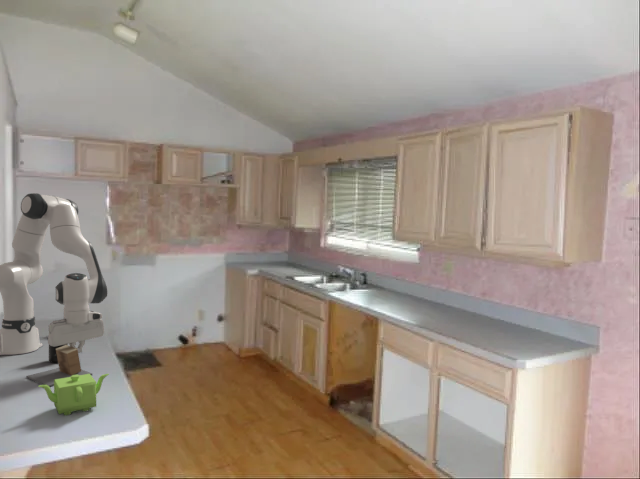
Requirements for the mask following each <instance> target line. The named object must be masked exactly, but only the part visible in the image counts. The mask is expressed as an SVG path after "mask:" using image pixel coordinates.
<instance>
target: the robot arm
mask: <svg viewBox="0 0 640 479" xmlns="http://www.w3.org/2000/svg"><path fill="white" fill-rule="evenodd" d="M20 212H21V213H22V215H21V216H20V219H19V220H18V223H17V227H16V229H15V232H14V236H13V240H12V243H11V246H12V248H13V250H14V259H13V260H12V261H9V262H4V263H2V264H0V295H1V298H2V303H3V304H2V305H3V319H2V321H1V328H0V356H3V355H7V356H8V355H9V356H10V355H23V354H28V353H31V352H35V351H37V350H38V349H39V348H41V347H43V343H42V342H40V335H39V328H38V327H36V317H35V316H34V315H35V309H34V308H35V307H34V306H35V302H34V298H33V297H32V296H31V295H30V293H29V290H28V286H27V285H30V284H33V283H35V282H37V281H38V280H39V279H41V277H42V276H43V273H44V268H43V266H42V263H41V256H42V255H41V254H42V249H43V245H44V242H45V239H46V235H47V232H48V228H49V234H50V241H51V243H52V245H53V246H54V248H56V249H57V250H59V251H60V252H63V253H66V254H70V255H73V256H76V257H78V258H80V259H82V260H83V261H84V263H85V266H86V268H87V272H88V275H89V278H88V276H87V275H86V274H84V273H81V272H80V273H77V272H75V273H74V272H73V273H69V274H67V275H65V277H64V280H63V281H60V282H59V283H57V284H56V286H55V301H56V302H57V303H59V304H60V305H63V306H64V307H63V319H58V320H56V319H55V320H53V321H52V322H50V323H49V325H48V335H47V336H48V338H47V344H48V346H49V345H50V346H53V347H55V346H60V345H65V344H68V346H71V347H74V348H77V350H78V354H79V353H82V352H83V348H84V345H85V343H86V342H85V341H86V340H90V339H94V338H95V339H96V338H101V337H103V336H104V334H105V325H104V321H103V319H102V318H103V313H101V312H98V311H93V310H91V309H90V308H91V307H90V305H89V304H100V303H102V302H103V301H105V299H106V298H107V297H108V293H109V292H108V287H107V286H108V285H107V284H106V280H105V278H104V276H103V274H102V271H101V268H100V264H99V262H98V258H97V255H96V251H95V250H94V246H93V244H92V242H90V241H89V240H87V239H86V238H85V237H84V236H83V233H82V231H81V230H82V229H81V223H80V219H79V207H78V205H77V203H76V202H75V201H73V200H71V199H68V198H63V197H60V196H56V195H49V194H48V195H47V194H40V193H28V194H26V195H25V196H23V198H22V199H21V202H20ZM77 343H78V346H77V347H76V345H77Z"/></svg>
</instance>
